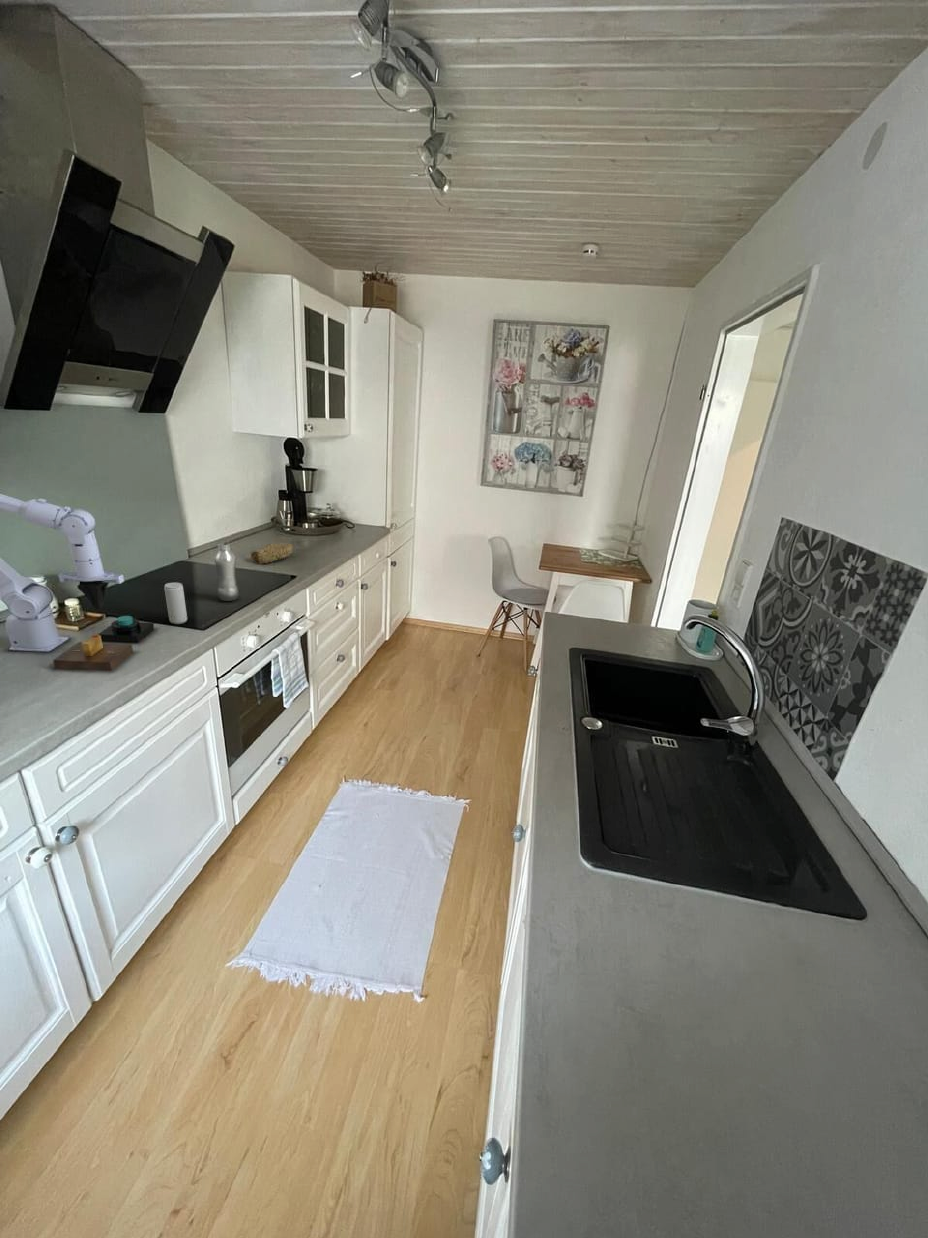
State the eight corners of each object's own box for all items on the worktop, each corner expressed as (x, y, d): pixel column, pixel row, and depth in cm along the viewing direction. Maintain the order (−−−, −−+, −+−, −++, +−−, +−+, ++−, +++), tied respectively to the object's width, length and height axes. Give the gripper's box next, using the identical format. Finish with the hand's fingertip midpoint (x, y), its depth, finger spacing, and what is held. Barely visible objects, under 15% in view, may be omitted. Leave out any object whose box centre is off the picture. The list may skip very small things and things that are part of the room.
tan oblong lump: (265, 569, 204) (304, 552, 217) (258, 552, 201) (298, 536, 214) (249, 566, 213) (288, 551, 226) (243, 550, 209) (282, 535, 222)
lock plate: (55, 668, 119) (52, 659, 118) (81, 650, 129) (78, 641, 127) (111, 671, 121) (109, 661, 120) (133, 652, 130) (131, 643, 129)
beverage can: (179, 625, 147) (174, 588, 142) (165, 623, 148) (160, 586, 143) (191, 620, 151) (186, 583, 147) (177, 617, 152) (172, 581, 147)
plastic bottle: (213, 600, 167) (207, 543, 159) (229, 594, 173) (224, 540, 165) (228, 604, 165) (222, 547, 157) (243, 598, 171) (238, 543, 163)
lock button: (115, 626, 135) (114, 620, 134) (122, 621, 138) (121, 615, 138) (128, 626, 136) (127, 621, 135) (135, 621, 139) (134, 616, 138)
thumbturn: (91, 656, 122) (88, 643, 120) (84, 656, 121) (81, 642, 120) (103, 647, 126) (100, 634, 125) (96, 647, 126) (93, 634, 124)
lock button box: (99, 641, 134) (96, 628, 132) (118, 627, 142) (115, 615, 140) (138, 643, 135) (135, 630, 133) (154, 629, 143) (152, 617, 142)
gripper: (125, 555, 129) (135, 602, 134) (66, 552, 127) (79, 600, 133) (110, 563, 122) (121, 612, 128) (47, 560, 121) (62, 611, 126)
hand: (99, 607), depth 130 cm, fingers closed
